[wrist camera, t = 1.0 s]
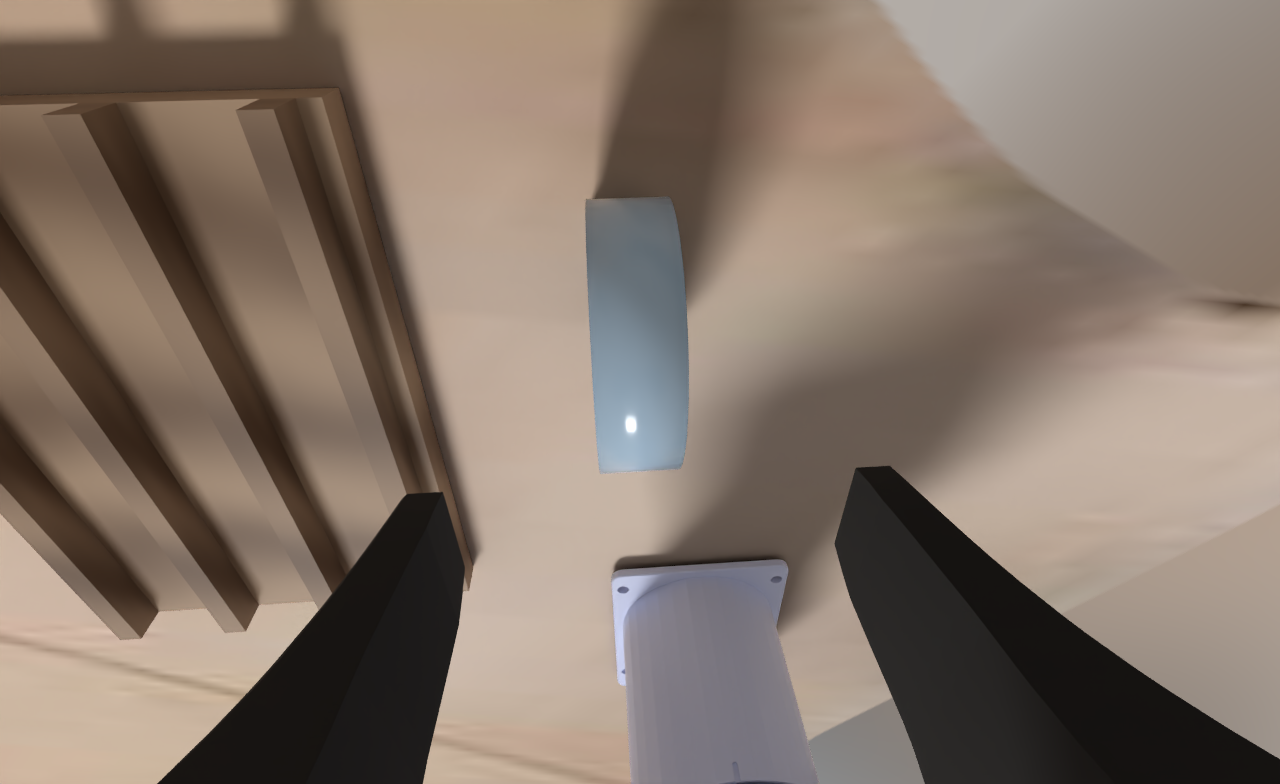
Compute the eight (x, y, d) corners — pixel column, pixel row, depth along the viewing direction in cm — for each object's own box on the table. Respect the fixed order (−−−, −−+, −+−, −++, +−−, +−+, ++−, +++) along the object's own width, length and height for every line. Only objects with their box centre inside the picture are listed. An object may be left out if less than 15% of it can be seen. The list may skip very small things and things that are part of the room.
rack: (473, 567, 26) (464, 616, 24) (140, 588, 26) (104, 641, 24) (338, 88, 15) (301, 108, 13) (-266, 102, 14) (-399, 126, 12)
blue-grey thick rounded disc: (656, 370, 21) (682, 527, 15) (598, 373, 21) (603, 532, 15) (658, 160, 17) (694, 270, 11) (585, 162, 16) (585, 274, 11)
